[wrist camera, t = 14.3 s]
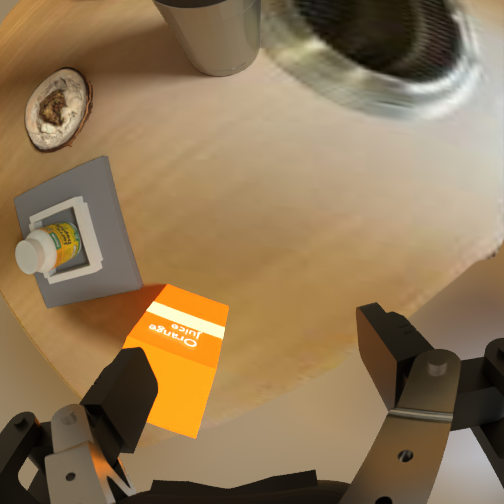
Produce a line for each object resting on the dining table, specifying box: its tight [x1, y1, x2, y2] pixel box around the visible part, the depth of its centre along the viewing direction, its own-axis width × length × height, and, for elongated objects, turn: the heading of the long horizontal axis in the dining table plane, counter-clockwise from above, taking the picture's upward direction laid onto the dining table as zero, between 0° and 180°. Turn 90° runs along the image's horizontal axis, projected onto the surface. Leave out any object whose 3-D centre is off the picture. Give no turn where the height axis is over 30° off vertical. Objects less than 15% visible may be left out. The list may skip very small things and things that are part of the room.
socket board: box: [14, 156, 144, 308], centre depth 36 cm, size 18×18×4 cm
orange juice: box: [122, 284, 229, 438], centre depth 31 cm, size 8×9×20 cm
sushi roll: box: [25, 67, 93, 152], centre depth 32 cm, size 15×15×4 cm
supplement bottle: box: [15, 222, 81, 274], centre depth 32 cm, size 5×5×10 cm
